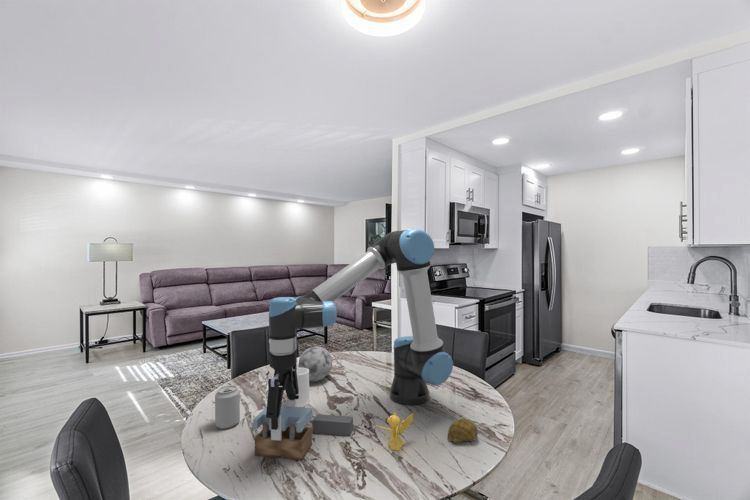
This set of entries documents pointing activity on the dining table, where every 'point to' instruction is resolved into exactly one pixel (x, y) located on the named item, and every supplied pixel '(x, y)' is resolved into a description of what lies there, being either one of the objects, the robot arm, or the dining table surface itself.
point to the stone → (316, 362)
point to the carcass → (284, 443)
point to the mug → (303, 387)
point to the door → (287, 418)
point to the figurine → (397, 430)
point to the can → (227, 407)
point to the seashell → (462, 431)
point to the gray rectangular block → (333, 424)
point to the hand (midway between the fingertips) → (284, 430)
